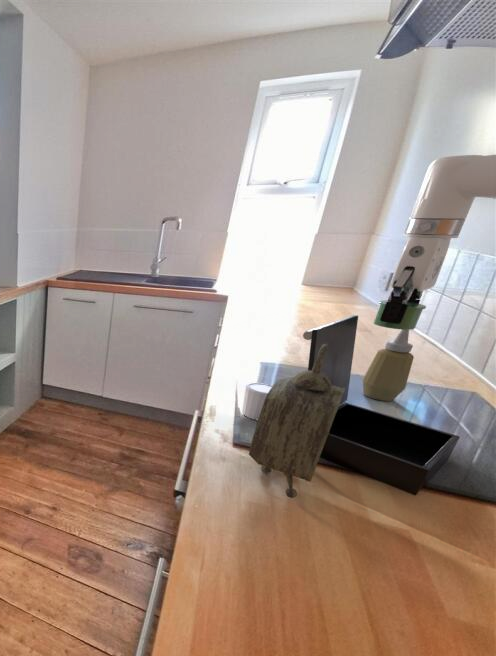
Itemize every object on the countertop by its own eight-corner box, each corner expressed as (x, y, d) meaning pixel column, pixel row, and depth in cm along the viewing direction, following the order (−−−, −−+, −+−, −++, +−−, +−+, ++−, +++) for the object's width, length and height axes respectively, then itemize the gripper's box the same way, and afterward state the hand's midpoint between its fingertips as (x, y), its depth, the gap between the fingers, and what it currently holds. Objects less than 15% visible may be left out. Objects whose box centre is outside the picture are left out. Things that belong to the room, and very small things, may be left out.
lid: (358, 315, 84) (329, 314, 88) (317, 329, 75) (287, 328, 79) (347, 400, 89) (320, 396, 93) (306, 424, 79) (278, 418, 83)
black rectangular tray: (446, 462, 78) (460, 436, 76) (413, 499, 69) (428, 470, 66) (335, 425, 92) (344, 402, 90) (294, 451, 82) (303, 425, 80)
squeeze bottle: (349, 392, 108) (375, 325, 101) (371, 388, 110) (397, 323, 103) (385, 405, 101) (415, 334, 94) (407, 401, 103) (438, 331, 96)
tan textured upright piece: (300, 507, 67) (354, 363, 57) (238, 484, 73) (277, 349, 63) (314, 469, 76) (363, 340, 66) (259, 451, 82) (295, 330, 72)
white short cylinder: (232, 412, 98) (239, 385, 95) (250, 406, 101) (257, 380, 98) (261, 424, 92) (269, 396, 89) (279, 418, 95) (288, 390, 92)
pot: (421, 326, 86) (430, 304, 84) (410, 332, 82) (420, 309, 80) (378, 319, 91) (385, 299, 89) (366, 324, 87) (374, 302, 86)
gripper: (448, 231, 72) (407, 330, 79) (471, 228, 80) (432, 317, 87) (391, 229, 77) (358, 321, 84) (419, 227, 86) (386, 311, 93)
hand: (396, 319), depth 86 cm, fingers closed on pot, 7 cm apart
